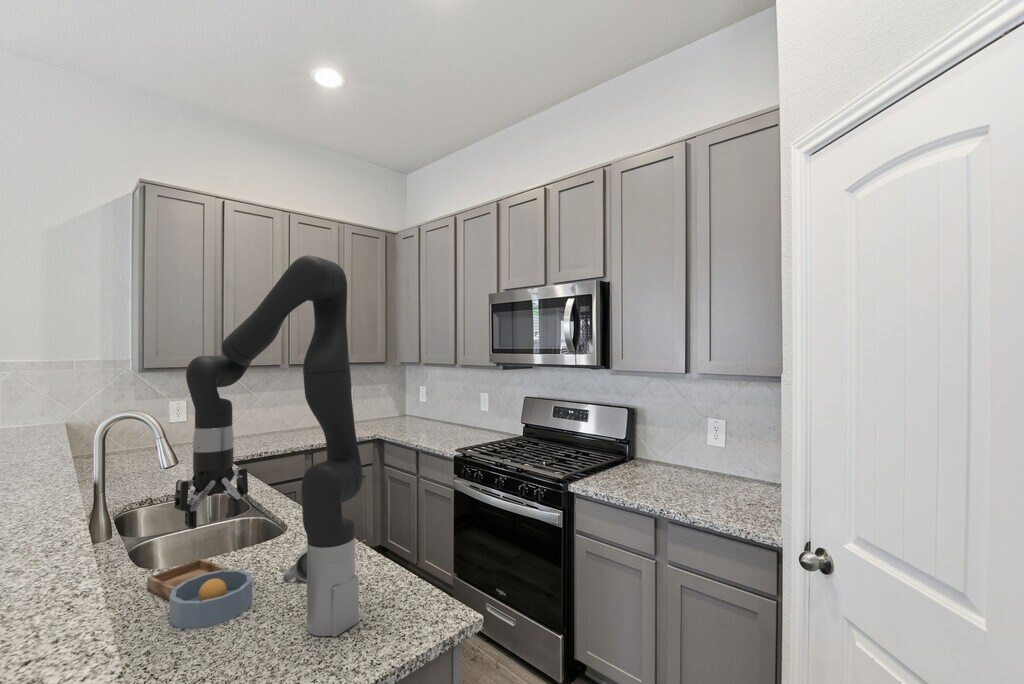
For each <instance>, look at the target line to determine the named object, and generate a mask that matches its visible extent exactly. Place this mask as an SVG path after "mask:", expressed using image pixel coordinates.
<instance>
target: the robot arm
mask: <svg viewBox="0 0 1024 684" xmlns="http://www.w3.org/2000/svg"><path fill="white" fill-rule="evenodd" d="M307 301H308V302H309V301H310V302H312V305H313V314H314V315H313V316H314V329H313V333H312V337H311V340H310V343H309V345H308V348H307V351H306V354H305V356H304V361H303V366H302V367H303V368H302V371H303V372H302V374H303V388H304V398H305V399H306V400H305V401H306V403H307V405H308V407H309V410H310V411H311V412H312V414H313V416H314V417H315V419H316V420H317V422H318V424H319V426H320V427H321V430H322V431H323V434H324V438H325V439H324V440H325V442H326V443H325V446H326V460H324V461H321V462H318V463H315V464H312V466H310V467H308V468H307V469H306V471H305V473H304V474H303V477H302V481H301V489H300V490H301V493H300V494H301V507H302V508H301V509H302V510H301V511H302V512H301V513H302V524H303V525H302V526H303V528H304V532H305V535H306V537H307V538H306V541H307V542H306V546H307V582H306V630H307V631H308V633H309V634H311V635H312V636H317V637H328V636H329V637H333V638H336V637H337V636H339V635H341V634H342V633H344V632H345V631H347V630H348V629H350V628H352V627H353V626H355V625H356V624H358V623H359V619H360V618H359V616H360V615H359V612H360V611H359V606H360V605H359V604H360V602H359V601H360V600H359V597H360V596H359V593H360V590H359V587H360V586H359V584H360V583H359V575H357V574H356V525H355V521H353V520H352V519H349V518H347V517H346V518H345V517H343V509H342V507H343V506H342V504H343V503H345V502H347V501H349V500H351V499H353V498H355V497H356V496H357V495H358V494H359V492H360V491H361V489H362V486H363V481H364V479H363V477H364V476H363V466H362V465H363V464H362V461H361V457H360V456H361V455H360V450H359V445H358V440H357V439H358V438H357V434H356V427H355V426H356V424H355V415H354V405H353V393H352V375H351V366H350V359H349V357H350V356H349V344H348V343H349V342H348V329H347V327H348V326H347V312H348V310H347V309H348V308H347V304H348V281H347V276H346V273H345V271H344V269H343V267H342V266H340V265H339V264H338V263H336V262H334V261H332V260H328V259H325V258H322V257H319V256H315V255H310V254H309V255H308V254H307V255H303V256H300V257H298V258H297V259H296V260H294V261H293V262H292V263H291V264H290V265H289V266H288V267H287V269H286V270H285V271H284V273H283V274H282V275H281V277H280V278H279V279H278V281H277V282H276V283H275V285H274V286H273V287H272V289H271V290H270V291H269V292H268V293H267V294H266V296H265V298H263V300H262V301H261V303H260V304H259V305H258V306H257V308H256V309H255V310H254V311H253V312H252V313H251V314H250V315H249V316H248V317H246V319H245V320H243V322H242V323H240V325H238V326H237V327H236V328H235V329H234V330H233V331H232V332H231V333H230V334H228V335H227V336H226V337H225V339H224V340H223V341H222V343H221V352H222V354H220V355H200V356H196V357H194V358H192V359H191V361H190V362H189V363H188V366H187V368H186V372H185V373H186V374H185V379H186V383H187V388H188V391H189V395H190V398H191V402H192V403H193V407H194V431H193V432H194V433H193V438H192V439H193V440H192V471H193V475H192V478H191V479H187V480H182V479H178V480H177V481H176V483H175V495H174V509H175V510H179V511H181V512H184V525H185V527H187V528H188V529H189V530H194V529H197V525H198V524H197V523H198V521H197V516H198V515H197V514H198V513H197V512H198V511H197V508H198V507H199V505H201V504H200V503H202V502H203V501H204V500H205V498H206V497H212V496H214V495H216V494H223V493H225V494H226V495H227V496H228V497H229V498H228V499H227V500H228V501H227V502H228V505H227V509H228V510H227V514H228V516H229V517H231V518H234V517H237V515H238V514H239V512H240V511H239V510H240V498H241V497H242V496H244V495H245V496H246V495H248V494H249V481H248V480H249V479H248V469H247V468H244V467H240V466H238V467H237V468H236V469H233V467H234V446H235V445H234V442H235V441H234V429H233V403H232V401H231V400H229V399H227V398H223V397H222V398H221V397H220V394H219V391H218V388H226V387H229V386H232V385H234V384H235V383H237V382H239V380H241V378H242V377H243V376H244V375H245V373H246V371H247V369H249V367H250V365H251V363H252V362H253V360H254V359H256V358H257V357H258V356H259V355H260V354H262V353H263V352H264V351H265V350H266V349H267V348H268V347H269V346H270V345H271V344H272V343H273V342H274V340H276V337H278V334H279V332H280V330H281V327H282V326H283V323H284V321H285V320H286V318H287V317H288V316H289V315H290V313H291V312H293V311H294V310H295V309H296V308H298V307H299V306H301V305H302V304H303V303H305V302H307ZM234 478H235V479H236V487H235V486H234V485H233V484H232V483H231V482H232V480H233V479H234ZM192 486H193V487H194V488H193V490H192V491H191V493H190V495H189V491H190V490H191V487H192ZM188 497H189V498H188Z"/></svg>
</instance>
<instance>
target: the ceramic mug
mask: <svg viewBox="0 0 1024 684" xmlns="http://www.w3.org/2000/svg"><path fill="white" fill-rule="evenodd" d="M282 575H283V578H284V580H285V581H290V580H292V579H294V578H298V580H300V581H302V582H304V583H307V545H305V546H304V547H303V548H302V550H301V551H300V553H299V556H298V557H297V559H296V560H295V563H294V564H293V565H291V566H289V567H288V568H287V569H286V570H285V571H284V572H283V574H282Z"/></svg>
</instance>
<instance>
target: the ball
mask: <svg viewBox="0 0 1024 684" xmlns="http://www.w3.org/2000/svg"><path fill="white" fill-rule="evenodd" d="M225 594H226V584H225V582H224V581H223V580H221V579H217V578H214V579H210V580H208V581H206V582H205V583H204V584H203V585H202V586H201V588H200V590H199V593H198V597H199V600H200V601H202V600H207V599H211V598H216V597H220V596H223V595H225Z"/></svg>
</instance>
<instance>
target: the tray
mask: <svg viewBox="0 0 1024 684" xmlns="http://www.w3.org/2000/svg"><path fill="white" fill-rule="evenodd" d="M220 570H230V569H229V568H228V567H225V566H223V565H220V564H217V563H215V562H212V561H209V560H207V559H205V558H198V559H196V560H193V561H190V562H187V563H185V564H181V565H179V566H177V567H174V568H170V569H168V570H165V571H162V572H159V573H157V574H154V575H152V576H151V575H150V576H148V577H147V579H146V581H147V583H146V584H147V585H146V590H147V592H149V593H151V594H153V595H156V596H158V597H159V598H162V599H164V600H166V601H168V602H169V598H170V594H171V590H172V589H174V588H175V587H177V586H178V585H179V584H181V583H182V582H184V581H186V580H188V579H191V578H194V577H196V576H199V575H201V574H205V573H210V572H215V571H220Z"/></svg>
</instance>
